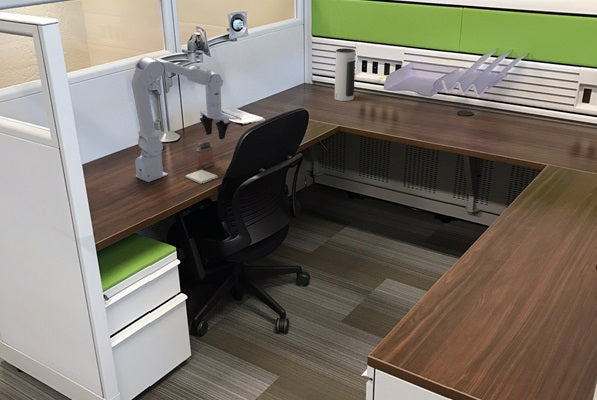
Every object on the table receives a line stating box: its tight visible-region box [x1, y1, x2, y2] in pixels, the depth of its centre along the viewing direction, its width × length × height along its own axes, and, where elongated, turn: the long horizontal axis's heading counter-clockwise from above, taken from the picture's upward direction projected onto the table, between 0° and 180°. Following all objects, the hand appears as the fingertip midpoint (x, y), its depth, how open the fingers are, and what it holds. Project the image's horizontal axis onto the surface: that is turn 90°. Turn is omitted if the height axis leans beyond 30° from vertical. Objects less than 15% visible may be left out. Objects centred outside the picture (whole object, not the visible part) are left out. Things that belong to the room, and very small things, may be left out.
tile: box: [185, 169, 219, 185], centre depth 236 cm, size 8×9×1 cm
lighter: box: [195, 140, 215, 170], centre depth 245 cm, size 8×3×10 cm, turn 141°
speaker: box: [334, 48, 356, 102], centre depth 327 cm, size 11×10×26 cm
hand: (215, 136), depth 247 cm, fingers open, 7 cm apart
